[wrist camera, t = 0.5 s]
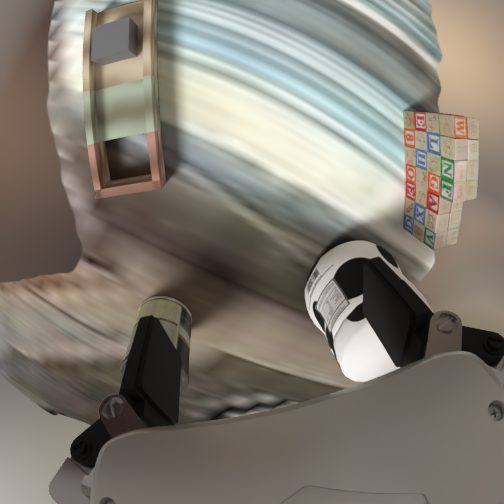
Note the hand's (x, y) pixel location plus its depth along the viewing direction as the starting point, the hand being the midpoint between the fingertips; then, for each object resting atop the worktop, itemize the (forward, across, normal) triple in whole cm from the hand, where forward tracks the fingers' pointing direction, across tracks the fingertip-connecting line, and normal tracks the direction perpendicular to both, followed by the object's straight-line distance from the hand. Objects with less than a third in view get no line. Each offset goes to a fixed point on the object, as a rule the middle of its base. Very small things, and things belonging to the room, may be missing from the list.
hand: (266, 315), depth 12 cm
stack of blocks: (+30, -32, +5) cm, 43 cm away
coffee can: (+29, +18, +21) cm, 40 cm away
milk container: (+29, -15, +22) cm, 40 cm away
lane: (+29, +11, -16) cm, 35 cm away
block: (+27, +10, -23) cm, 37 cm away
